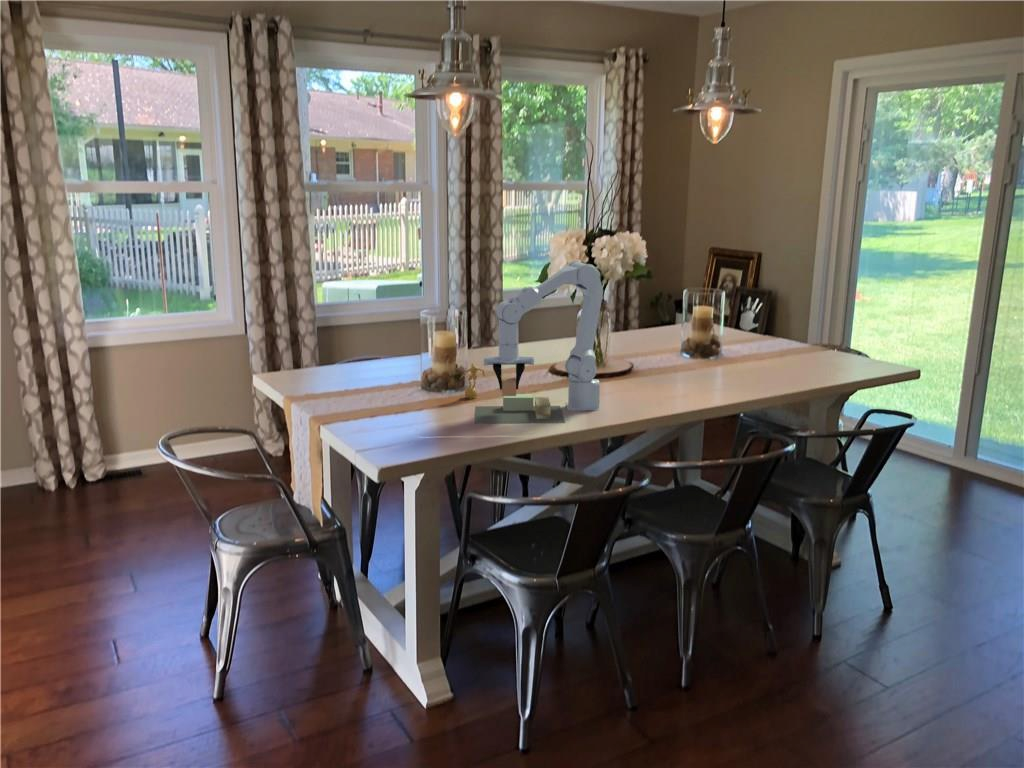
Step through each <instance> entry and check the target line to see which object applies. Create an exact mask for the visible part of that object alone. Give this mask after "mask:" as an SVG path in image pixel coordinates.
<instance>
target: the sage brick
mask: <svg viewBox="0 0 1024 768" xmlns="http://www.w3.org/2000/svg"><path fill="white" fill-rule="evenodd" d="M502 406H503V411H530V410H533V406H534V395H533V393H531V394H530V393H528V394H527V393H526V394H525V393H516V396H502Z"/></svg>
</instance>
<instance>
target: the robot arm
mask: <svg viewBox="0 0 1024 768" xmlns="http://www.w3.org/2000/svg"><path fill="white" fill-rule="evenodd" d="M601 281H602V280H601V272H600V271H599V270H598V269H597V267H596V266H594V265H593V264H590V263H583V262H580V261H572V262H570V263H568V264H567V265H563V266H562V268H561V269H560V270H559V271H557V272H556V273H554V274H552V275H551V276H550V277H549V278H547V279H545V280H544V281H543V282H542V283H540V284H539V285H537V286H536V287H533V286H528V287H527V286H525V287H523V288H522V289H521V291H520V292H518V294H516V295H514V296H510V297H509V298H508V301H507V300H503V301H501V302H500V303H499V304H498V306H497V307H496V310H495V311H494V315H495V316H496V318H497V320H498V356H492V357H491V356H489V357H483V366H492V369H493V372H494V373H495V377H496V378H497V382H498V385H499V390H501V391H502V365H503V366H506V365H507V366H509V365H511V366H512V365H514V366H515V378H516V390H519V386H520V381H521V377H522V375H523V373H524V371H525V368H526V365H530V366H534V365H535V364H534V363H535V361H534V360H535V358H534V357H533V356H519V322H520V321H521V319H522V316H523V315H524V314H526V313H528V312H529V311H531V310H533V309H534V308H535V307H537V306H538V305H540V304H541V303H542V299H543V298H544V297H545V296H546V295H548V294H551V293H552V292H553V291H555V290H558V289H559V288H560V287H562V286H564V285H575V286H576V287H578V289H579V290H580V291H581V292H582V294H583V300H582V305H581V306H582V307H581V311H580V317H579V322H578V329H577V333H576V339H575V345H574V347H573V348H572V349H571V350H570V353H569V356H568V357H567V360H566V361H565V366H564V367H565V370H566V372H567V373H568V395H567V396H568V397H567V398H568V401H567V402H565V406H566V408H567V410H568V411H600V401H601V400H600V396H601V395H600V391H601V389H600V386H601V385H600V380H599V379H595V376H596V375H597V365H596V360H597V357H596V355H595V352H594V345H595V340H596V335H597V328H598V323H599V317H600V312H601V308H602V307H601V306H602V302H603V296H604V288H603V285H602V282H601Z"/></svg>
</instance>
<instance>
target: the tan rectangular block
mask: <svg viewBox="0 0 1024 768" xmlns="http://www.w3.org/2000/svg"><path fill="white" fill-rule="evenodd" d="M501 378H502V390H501V395H502V397H503V396H516V394H517V389H516V374H503V375H502V374H501Z"/></svg>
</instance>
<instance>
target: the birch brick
mask: <svg viewBox="0 0 1024 768" xmlns="http://www.w3.org/2000/svg"><path fill="white" fill-rule="evenodd" d="M534 406H535V413H536V418H537V419H549V418H550V410H551V406H552V405H551V401H550V399H549V396H535V397H534Z"/></svg>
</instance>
